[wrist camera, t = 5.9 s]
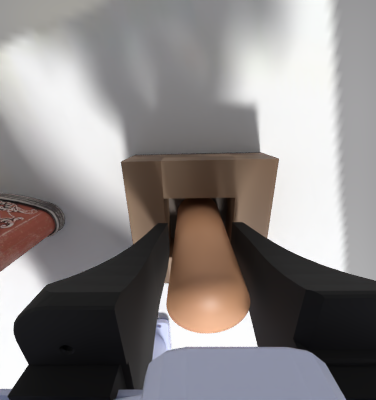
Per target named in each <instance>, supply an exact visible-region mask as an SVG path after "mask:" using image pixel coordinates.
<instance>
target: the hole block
mask: <svg viewBox="0 0 376 400" xmlns="http://www.w3.org/2000/svg"><path fill="white" fill-rule="evenodd" d="M278 162H279V159H278V158H275V157H272V156H270V155H267V154H264V153H261V152H255V153H205V154H155V155H134V156H132V157H130V158H128V159H126V160H124V161H122V162H121V166H122V172H123V179H124V186H125V193H126V199H127V206H128V213H129V220H130V227H131V233H132V240H133V244H134V243H136V242H137V241H138V240H140V239H141V238H142V237H143V236H144V235H145V234H147V233H148V232H149V231H150V230H151V229H152V228H153V227H154V226H155V225H156V224H158V223H168V231H169V246H170V255H169V264H168V269H167V273H166V278H165V282H164V283H169V278H170V270H171V262H172V254H173V245H174V237H175V229H176V221H177V213H178V208H179V206H180V204H181V203H182V202H183V201H184V200H185V199H186V198H210V199H212V200H213V201H214V202H215V203H216V205H217V207H218V210H219V213H220V216H221V218H222V221H223V224H224V227H225V229H226V232H227V235H228V238H229V240H230V243H231V232H232V222H243V223H245V224H246V225H248V226H249V227H251V228H252V229H254V230H255V231H257V232H258V233H260V234H261V235H263V236H264V237H266V238H267V235H268V229H269V222H270V215H271V209H272V202H273V195H274V188H275V182H276V175H277V168H278Z"/></svg>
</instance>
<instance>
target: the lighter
mask: <svg viewBox="0 0 376 400" xmlns="http://www.w3.org/2000/svg"><path fill="white" fill-rule="evenodd" d="M64 222H65V218H64V215H63V213H62V211H61V210H60V209H59V208H58V207H57V206H56V205H54V204H52V203H49V202H45V201H42V200H38V199H35V198H31V197H25V196H20V195H14V194H3V193H0V272H1V271H2V270H3V269H4V268H6V267H7V266H8V265H10V264H11V263H12V262H14V261H15V260H16V259H18V258H19V257H20V256H22V255H23V254H24V253H26V252H27V251H28V250H30V249H31V248H32V247H34V246H35V245H36V244H38V243H39V242H40V241H42V240H43V239H44V238H46V237H49V236H52V235H54V234H55V233H56V232H58V231H59V230H60V229H61V228H63V226H64Z"/></svg>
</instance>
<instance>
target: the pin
mask: <svg viewBox="0 0 376 400" xmlns="http://www.w3.org/2000/svg"><path fill="white" fill-rule="evenodd" d="M249 308H250V296H249V293H248V290H247V287H246V284H245V282H244V279H243V276H242V273H241V271H240V268H239V265H238V262H237V260H236V257H235V254H234V251H233V249H232V246H231V243H230V240H229V238H228V235H227V232H226V229H225V227H224V224H223V221H222V218H221V216H220V213H219V210H218V207H217V205H216V203H215V202H214V201H213V200H212V199H210V198H186V199H185V200H184V201H183V202H182V203H181V204H180V206H179V208H178V213H177V221H176V229H175V237H174V245H173V254H172V262H171V270H170V278H169V286H168V295H167V310H168V313H169V315H170V317H171V318H172V320H173V321H174V322H175V323H177V324H178V325H179V326H181V327H183V328H185V329H187V330H189V331H193V332H197V333H216V332H221V331H225V330H227V329H230V328H232V327H234V326H235V325H237V324H238V323H239V322H240V321H242V320H243V318H244V317H245V316H246V314H247V313H248V311H249Z"/></svg>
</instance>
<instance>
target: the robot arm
mask: <svg viewBox="0 0 376 400" xmlns="http://www.w3.org/2000/svg"><path fill="white" fill-rule="evenodd" d="M231 246H232V249H233V251H234V254H235V257H236V260H237V262H238V265H239V268H240V271H241V273H242V276H243V279H244V282H245V284H246V287H247V290H248V293H249V296H250V308H249V312H250V316H251V320H252V324H253V328H254V332H255V336H256V341H257V345H258V347H184V348H178V349H173V350H171V341H170V328H169V321H168V320H166V319H157V317H158V310H159V304H160V299H161V295H162V290H163V286H164V282H165V278H166V273H167V269H168V264H169V255H170V246H169V231H168V223H158V224H156V225H155V226H154V227H153V228H152V229H151V230H150V231H149V232H148V233H147V234H145V235H144V236H143V237H142V238H141V239H140V240H138V241H137V242H136V243H134V244H133V245H132V246H131V247H129V248H128V249H126V250H125V251H123V252H122V253H120V254H119V255H117V256H115V257H113V258H111V259H110V260H108V261H106V262H104V263H102V264H100V265H98V266H96V267H94V268H91V269H89V270H87V271H84V272H82V273H80V274H77V275H74V276H72V277H69V278H66V279H63V280H60V281H57V282H54V283H51V284H48V285H46V286H45V287H44V288H43V289H42V290H41V292H40V293H39V294H38V295H37V296H36V297H35V298H34V299H33V300H32V301H31V302H30V304H29V305H28V306H27V307H26V308H25V309H24V310H23V311H22V312H21V313H20V314H19V316H18V317H17V319H16V320H15V322H14V335H15V338H16V341H17V343H18V345H19V347H20V349H21V351H22V352H23V354H24V356H25V358H26V360H27V362H28V364H29V365H28V367H27V368H26V370H25V371H24V373H23V374H22V375H21V377H20V378H19V380H18V381H17V383H16V384H15V386H14V387H13V389H0V400H376V281H374V280H370V279H367V278H363V277H359V276H355V275H351V274H348V273H345V272H342V271H338V270H335V269H332V268H329V267H326V266H324V265H321V264H318V263H316V262H313V261H311V260H308V259H306V258H303V257H301V256H299V255H296V254H294V253H292V252H290V251H288V250H286V249H284V248H282V247H281V246H279V245H277V244H275V243H274V242H272V241H270V240H269V239H267V238H266V237H264V236H263V235H261V234H260V233H258V232H257V231H255V230H254V229H252V228H251V227H249V226H248V225H246V224H245V223H243V222H232V232H231Z"/></svg>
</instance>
